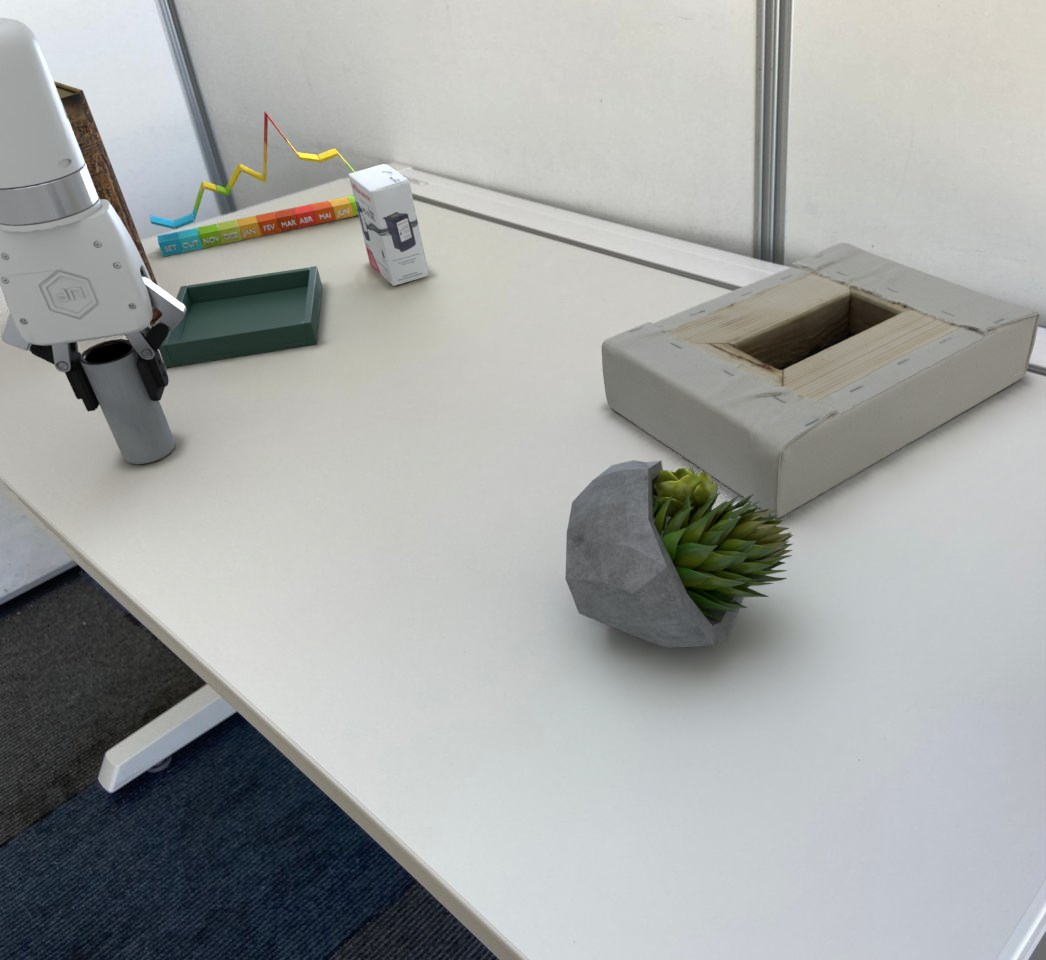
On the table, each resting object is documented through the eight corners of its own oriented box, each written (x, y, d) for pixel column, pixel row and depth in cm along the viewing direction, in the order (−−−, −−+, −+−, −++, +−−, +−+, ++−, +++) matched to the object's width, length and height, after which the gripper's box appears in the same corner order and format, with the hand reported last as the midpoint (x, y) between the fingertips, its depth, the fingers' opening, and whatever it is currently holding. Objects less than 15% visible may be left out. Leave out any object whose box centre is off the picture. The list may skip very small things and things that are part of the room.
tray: (166, 368, 103) (157, 346, 101) (188, 306, 115) (180, 286, 114) (316, 344, 105) (310, 322, 104) (322, 286, 118) (316, 265, 116)
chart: (163, 257, 129) (120, 142, 120) (162, 249, 131) (120, 135, 122) (390, 209, 138) (365, 98, 129) (385, 202, 140) (360, 93, 132)
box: (781, 528, 75) (1031, 377, 90) (781, 444, 70) (1044, 299, 85) (602, 415, 90) (841, 302, 105) (593, 341, 86) (843, 234, 101)
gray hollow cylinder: (158, 431, 92) (117, 334, 86) (186, 445, 90) (146, 346, 84) (113, 455, 89) (68, 355, 83) (141, 470, 87) (97, 369, 81)
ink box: (368, 265, 122) (345, 171, 115) (405, 254, 124) (385, 161, 117) (392, 287, 116) (369, 190, 109) (431, 276, 118) (411, 179, 111)
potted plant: (612, 492, 74) (806, 460, 69) (621, 663, 71) (826, 644, 65) (535, 454, 63) (759, 413, 58) (542, 654, 60) (779, 630, 54)
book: (173, 315, 114) (88, 91, 99) (127, 333, 110) (32, 105, 96) (114, 281, 123) (28, 72, 108) (70, 297, 120) (-24, 84, 105)
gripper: (-95, 228, 71) (13, 437, 82) (148, 198, 74) (222, 404, 84) (-60, 194, 77) (37, 392, 88) (164, 167, 80) (231, 363, 90)
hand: (127, 396), depth 86 cm, fingers closed on gray hollow cylinder, 4 cm apart
